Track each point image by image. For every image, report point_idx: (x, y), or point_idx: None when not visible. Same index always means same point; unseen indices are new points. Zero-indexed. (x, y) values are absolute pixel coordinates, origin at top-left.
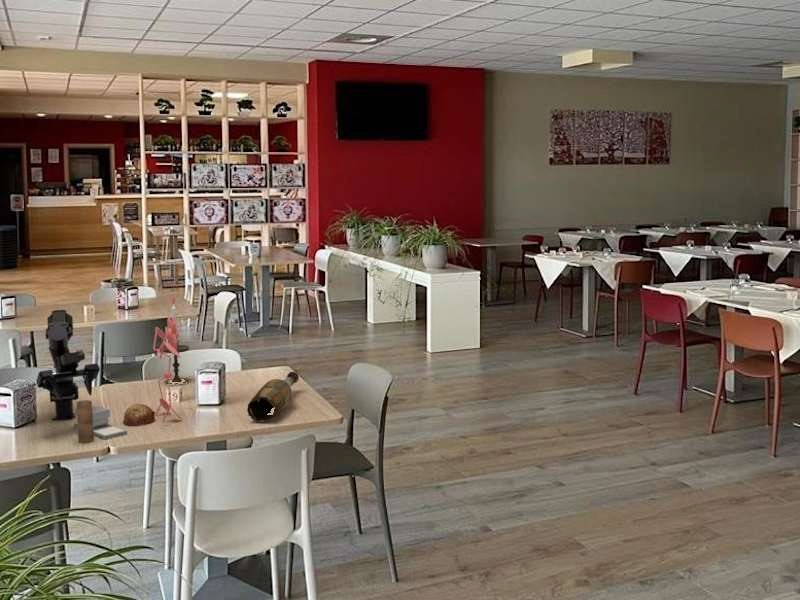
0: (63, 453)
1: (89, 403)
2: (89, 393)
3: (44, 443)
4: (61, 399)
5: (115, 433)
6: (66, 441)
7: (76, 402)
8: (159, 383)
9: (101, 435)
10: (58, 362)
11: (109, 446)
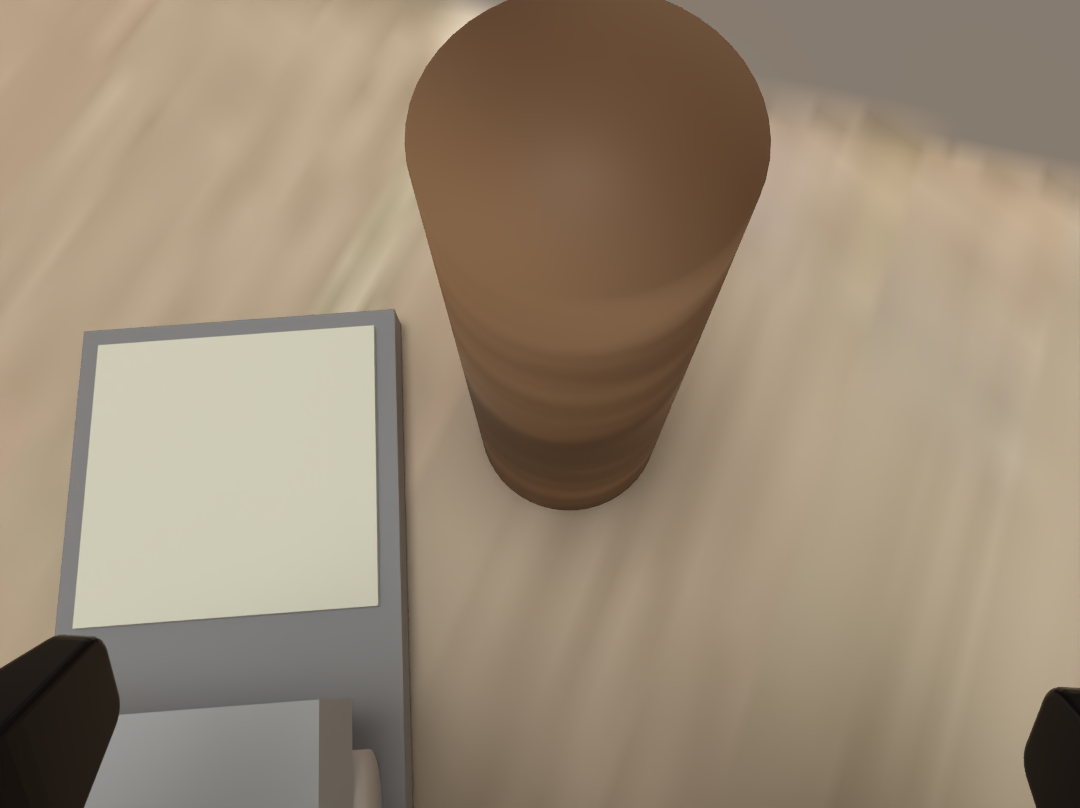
0: (924, 179)
1: (525, 5)
2: (92, 719)
3: (1017, 695)
4: (1050, 727)
5: (231, 338)
6: (761, 576)
7: (750, 213)
8: None
9: (390, 374)
10: None
11: None
